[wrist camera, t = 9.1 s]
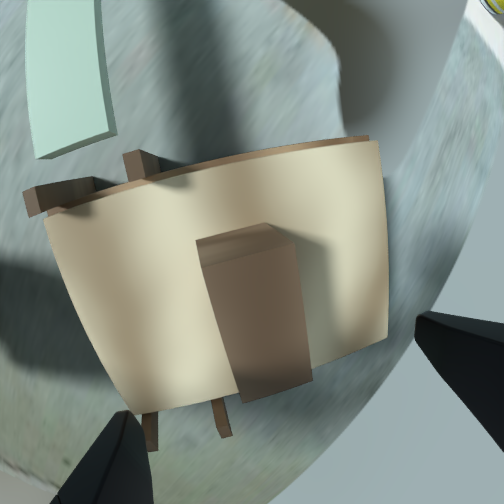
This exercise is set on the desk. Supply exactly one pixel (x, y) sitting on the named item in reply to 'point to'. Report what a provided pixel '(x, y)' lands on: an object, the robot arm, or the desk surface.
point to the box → (140, 173)
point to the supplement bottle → (494, 6)
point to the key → (66, 76)
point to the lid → (231, 274)
